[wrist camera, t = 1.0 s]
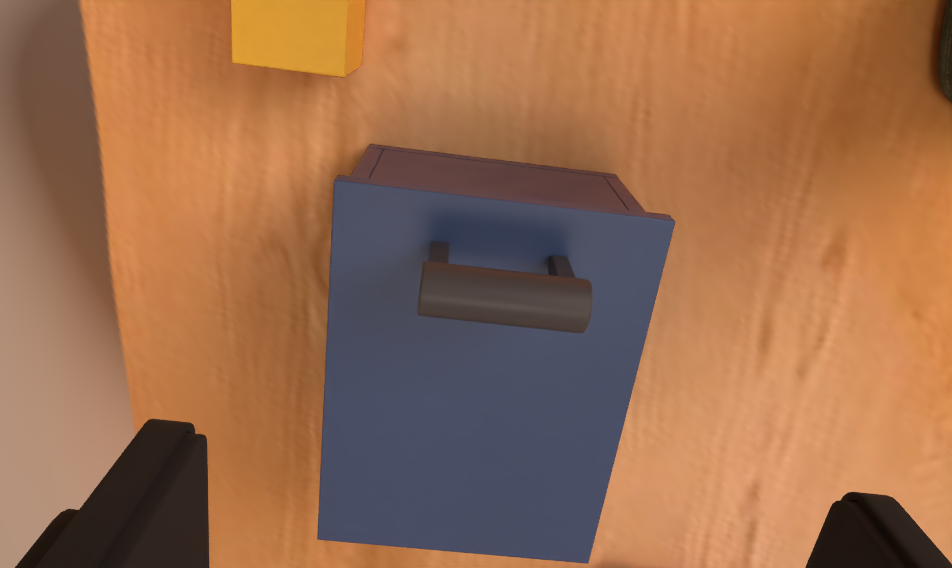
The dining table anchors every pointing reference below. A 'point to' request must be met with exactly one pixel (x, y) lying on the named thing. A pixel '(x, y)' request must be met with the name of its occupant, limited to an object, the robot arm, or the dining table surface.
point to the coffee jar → (946, 52)
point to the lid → (479, 366)
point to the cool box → (494, 177)
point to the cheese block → (299, 35)
